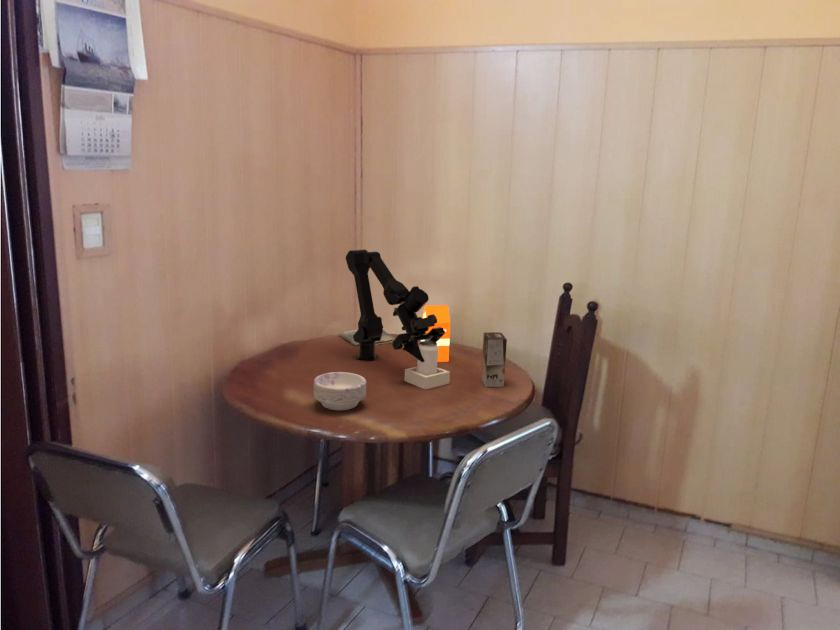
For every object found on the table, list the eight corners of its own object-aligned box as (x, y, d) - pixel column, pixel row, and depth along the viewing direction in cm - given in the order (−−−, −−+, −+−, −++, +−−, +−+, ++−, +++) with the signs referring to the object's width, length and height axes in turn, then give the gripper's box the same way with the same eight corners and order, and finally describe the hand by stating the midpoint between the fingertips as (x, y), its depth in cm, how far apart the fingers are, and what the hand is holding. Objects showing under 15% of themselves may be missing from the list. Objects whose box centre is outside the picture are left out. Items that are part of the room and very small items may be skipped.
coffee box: (504, 387, 222) (507, 339, 218) (484, 387, 221) (487, 339, 218) (498, 378, 231) (501, 332, 227) (480, 378, 230) (482, 331, 227)
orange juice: (448, 361, 248) (451, 307, 243) (425, 362, 245) (427, 308, 241) (442, 355, 255) (445, 302, 250) (419, 356, 253) (421, 303, 248)
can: (438, 381, 222) (440, 345, 219) (419, 382, 220) (420, 346, 217) (433, 375, 228) (435, 340, 225) (414, 375, 226) (416, 340, 224)
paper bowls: (358, 417, 192) (359, 390, 191) (306, 412, 195) (306, 385, 193) (371, 398, 207) (371, 373, 205) (322, 394, 209) (322, 369, 208)
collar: (404, 380, 225) (404, 369, 224) (428, 375, 231) (428, 363, 230) (425, 389, 217) (425, 377, 216) (449, 383, 224) (449, 371, 223)
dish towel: (355, 348, 262) (356, 340, 261) (338, 337, 277) (338, 329, 276) (399, 344, 270) (399, 336, 270) (379, 333, 286) (380, 325, 285)
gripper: (399, 309, 215) (420, 352, 210) (443, 303, 227) (464, 343, 222) (383, 328, 223) (403, 369, 218) (426, 321, 235) (446, 360, 229)
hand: (430, 360), depth 221 cm, fingers closed on can, 5 cm apart
